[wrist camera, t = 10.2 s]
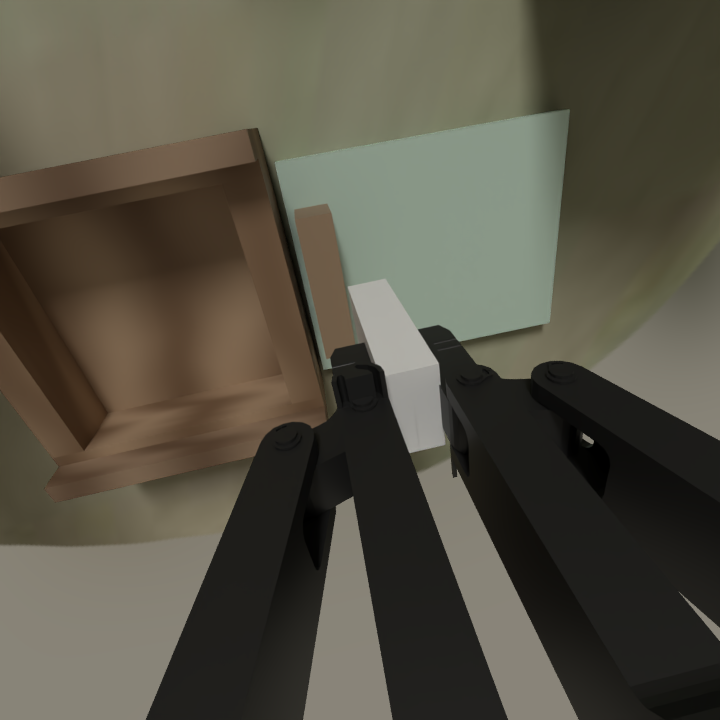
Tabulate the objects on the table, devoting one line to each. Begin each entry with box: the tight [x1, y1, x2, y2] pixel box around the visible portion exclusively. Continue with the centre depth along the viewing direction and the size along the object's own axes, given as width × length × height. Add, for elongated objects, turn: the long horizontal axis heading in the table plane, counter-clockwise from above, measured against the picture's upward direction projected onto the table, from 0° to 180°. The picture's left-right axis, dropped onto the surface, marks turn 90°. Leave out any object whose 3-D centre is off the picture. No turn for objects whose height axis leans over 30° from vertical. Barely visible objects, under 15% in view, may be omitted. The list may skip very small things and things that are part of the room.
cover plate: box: [275, 109, 570, 370], centre depth 21 cm, size 14×11×4 cm
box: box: [0, 128, 328, 503], centre depth 19 cm, size 14×14×6 cm
